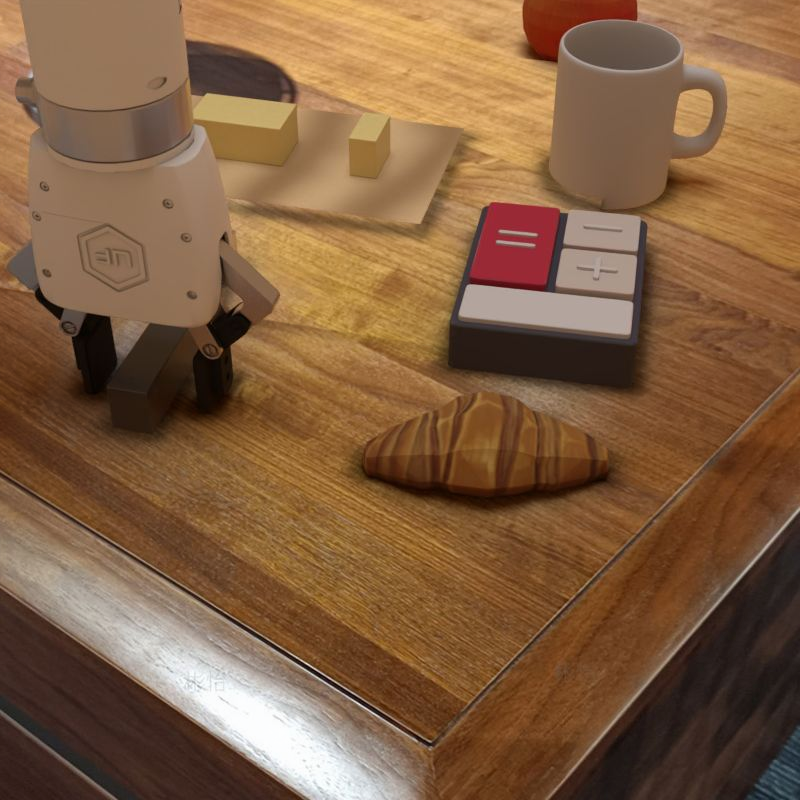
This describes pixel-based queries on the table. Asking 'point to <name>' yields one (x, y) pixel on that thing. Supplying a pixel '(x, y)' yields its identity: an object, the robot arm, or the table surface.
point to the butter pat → (369, 145)
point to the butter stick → (248, 128)
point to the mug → (625, 111)
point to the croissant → (486, 450)
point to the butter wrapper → (347, 169)
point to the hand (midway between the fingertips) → (157, 386)
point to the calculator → (551, 295)
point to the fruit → (567, 20)
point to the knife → (151, 376)
